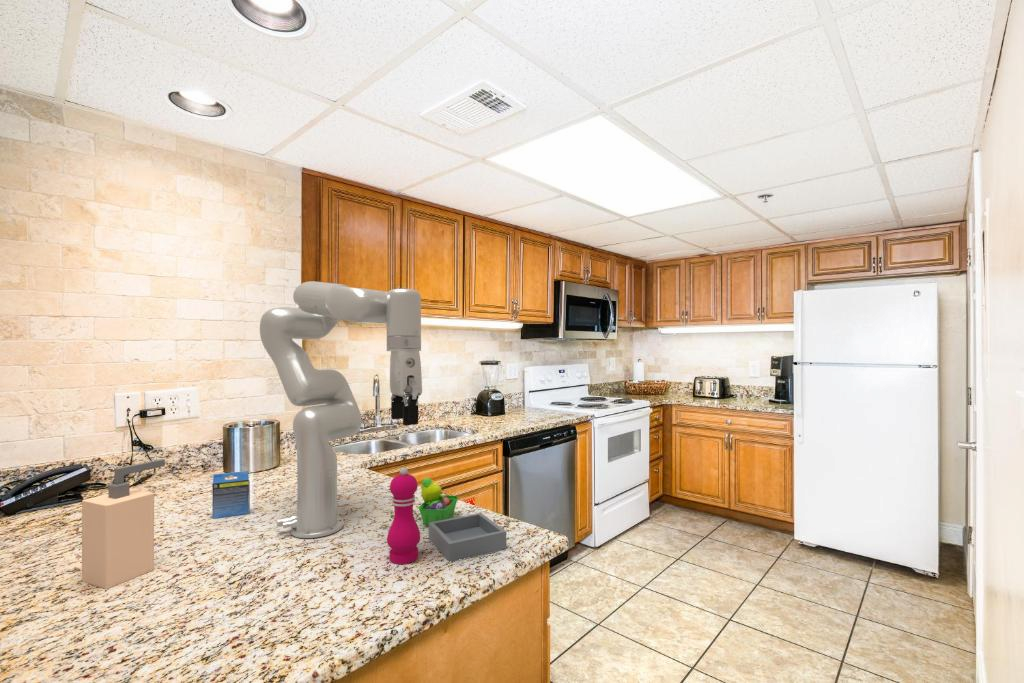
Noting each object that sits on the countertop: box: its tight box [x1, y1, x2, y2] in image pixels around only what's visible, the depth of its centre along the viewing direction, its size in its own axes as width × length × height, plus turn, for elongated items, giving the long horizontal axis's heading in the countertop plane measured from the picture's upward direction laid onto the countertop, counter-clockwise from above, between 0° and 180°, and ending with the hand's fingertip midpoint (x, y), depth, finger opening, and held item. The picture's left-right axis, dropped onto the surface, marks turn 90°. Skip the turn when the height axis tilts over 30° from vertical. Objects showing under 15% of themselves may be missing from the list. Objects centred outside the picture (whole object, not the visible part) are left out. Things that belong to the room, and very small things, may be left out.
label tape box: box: [211, 470, 251, 520], centre depth 131 cm, size 9×4×12 cm, turn 115°
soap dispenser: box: [81, 458, 166, 590], centre depth 98 cm, size 13×9×22 cm
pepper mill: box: [386, 467, 421, 565], centre depth 103 cm, size 7×7×20 cm
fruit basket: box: [418, 477, 459, 527], centre depth 126 cm, size 11×9×11 cm
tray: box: [428, 512, 507, 563], centre depth 110 cm, size 14×14×4 cm
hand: (404, 421), depth 104 cm, fingers open, 9 cm apart
